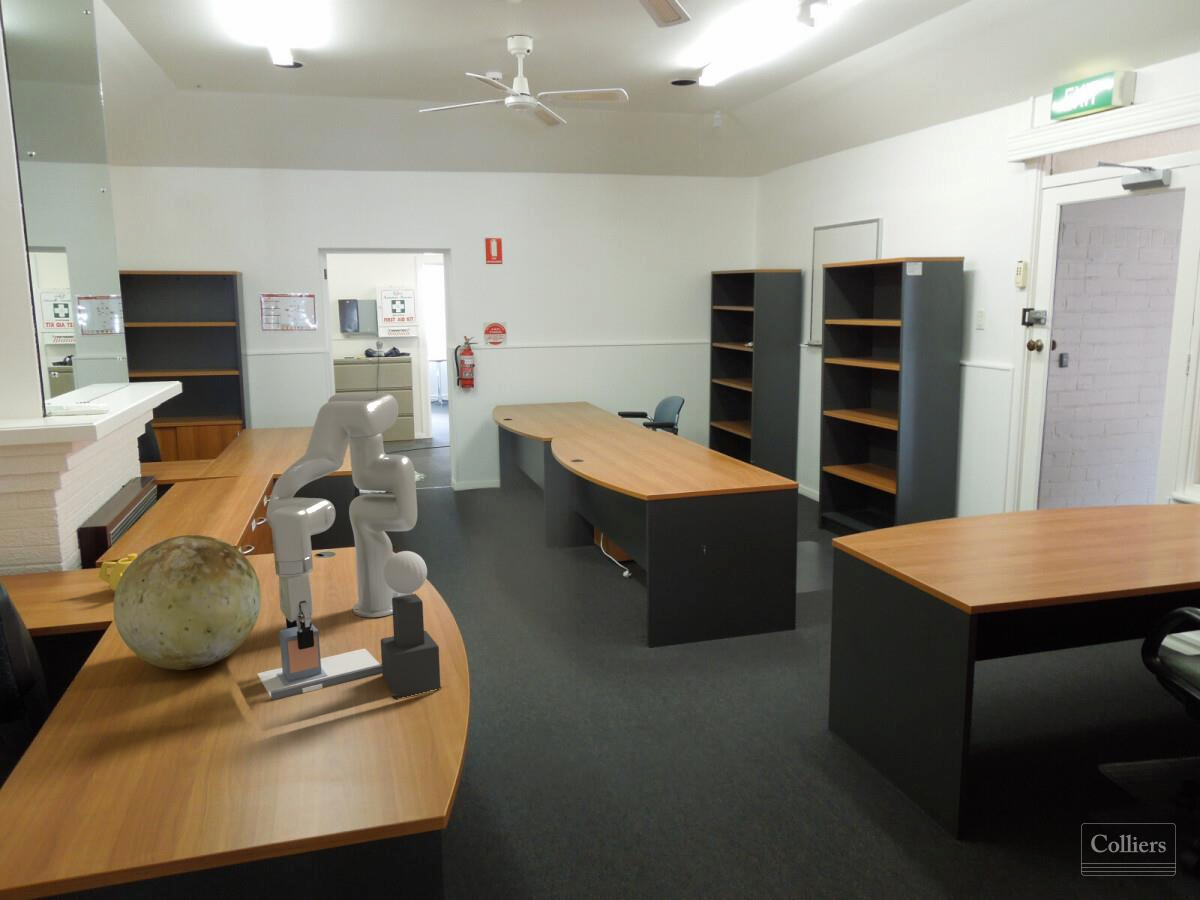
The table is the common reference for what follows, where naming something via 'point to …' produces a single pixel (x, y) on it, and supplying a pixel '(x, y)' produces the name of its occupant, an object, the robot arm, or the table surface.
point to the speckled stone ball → (187, 602)
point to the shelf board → (323, 674)
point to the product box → (299, 656)
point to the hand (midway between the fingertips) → (300, 639)
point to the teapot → (115, 570)
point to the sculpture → (408, 631)
